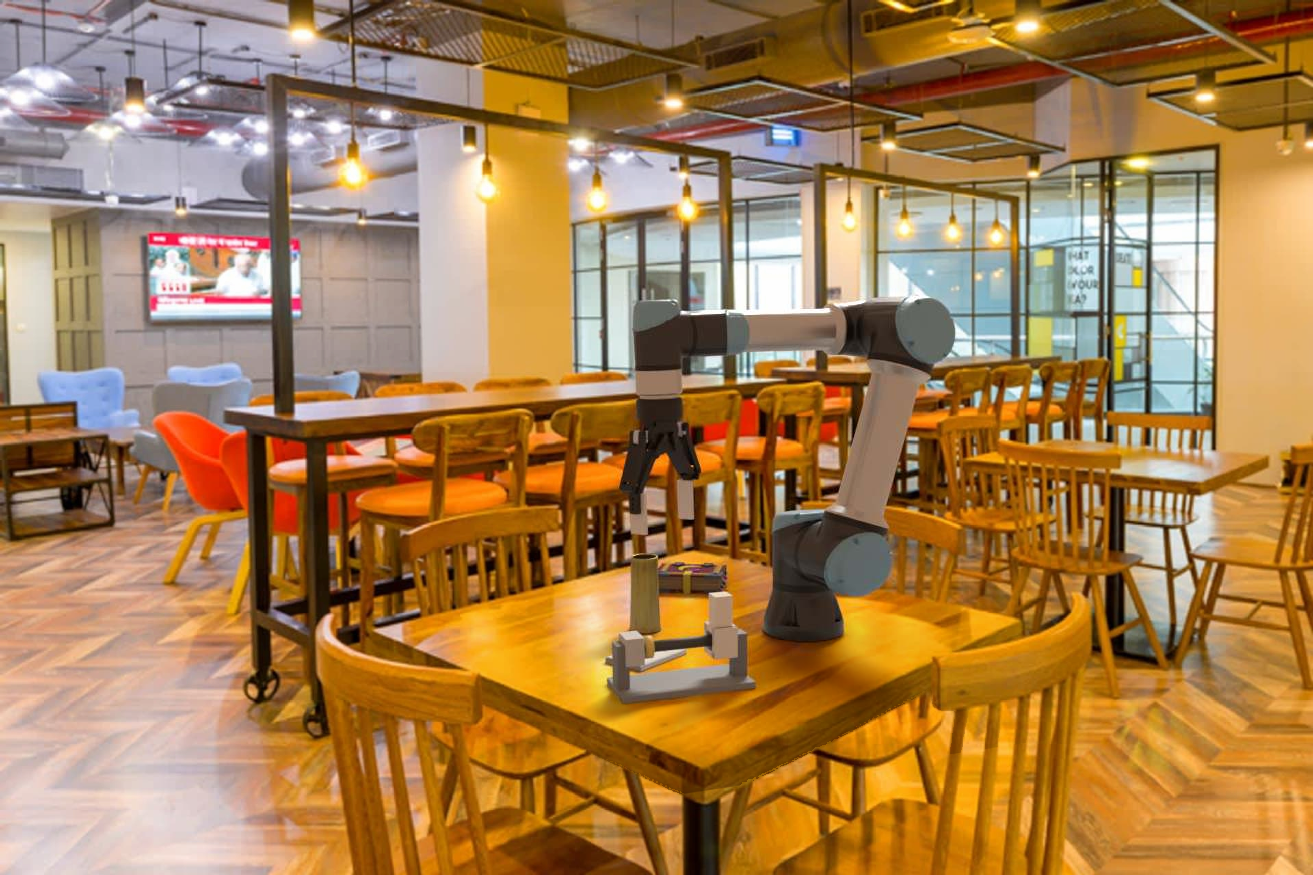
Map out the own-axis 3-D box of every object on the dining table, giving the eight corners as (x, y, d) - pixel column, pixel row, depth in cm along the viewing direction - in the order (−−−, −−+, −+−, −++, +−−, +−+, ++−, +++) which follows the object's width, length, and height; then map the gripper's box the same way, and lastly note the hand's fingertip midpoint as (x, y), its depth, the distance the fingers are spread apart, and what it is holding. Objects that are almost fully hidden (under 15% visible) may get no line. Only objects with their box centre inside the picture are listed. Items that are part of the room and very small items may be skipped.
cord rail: (732, 669, 186) (732, 616, 185) (755, 687, 177) (755, 631, 176) (607, 683, 180) (606, 628, 179) (623, 703, 170) (622, 645, 169)
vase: (667, 628, 211) (666, 555, 209) (645, 635, 206) (644, 561, 205) (644, 623, 215) (643, 551, 213) (622, 629, 210) (621, 556, 209)
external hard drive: (605, 665, 191) (651, 648, 200) (641, 674, 186) (686, 656, 195) (605, 656, 191) (650, 639, 200) (641, 665, 186) (686, 647, 195)
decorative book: (661, 581, 250) (661, 559, 249) (732, 583, 247) (732, 561, 247) (652, 593, 239) (652, 571, 238) (726, 596, 236) (726, 573, 235)
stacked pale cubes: (727, 648, 183) (726, 589, 182) (737, 657, 178) (737, 596, 177) (704, 651, 181) (703, 591, 180) (714, 659, 177) (714, 598, 176)
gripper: (681, 389, 189) (685, 511, 192) (593, 402, 169) (598, 538, 171) (719, 390, 185) (722, 514, 187) (632, 404, 164) (638, 543, 167)
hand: (663, 526), depth 179 cm, fingers open, 13 cm apart
